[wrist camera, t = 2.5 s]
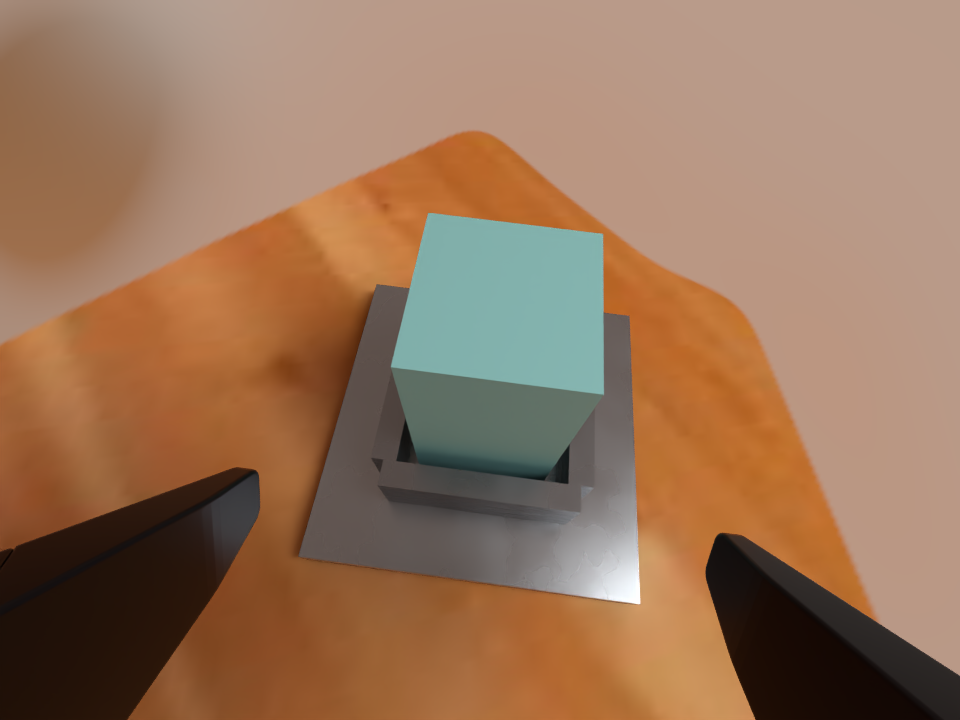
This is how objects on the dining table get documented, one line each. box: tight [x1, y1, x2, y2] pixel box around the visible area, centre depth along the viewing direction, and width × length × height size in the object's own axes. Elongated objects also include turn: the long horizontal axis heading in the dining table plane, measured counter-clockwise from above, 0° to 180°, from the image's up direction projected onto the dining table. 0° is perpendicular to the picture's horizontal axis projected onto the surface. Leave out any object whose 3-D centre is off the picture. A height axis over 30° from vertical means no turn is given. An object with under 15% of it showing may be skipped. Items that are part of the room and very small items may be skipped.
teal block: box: [391, 213, 604, 481], centre depth 17 cm, size 6×6×10 cm
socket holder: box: [298, 284, 640, 604], centre depth 21 cm, size 14×14×4 cm
